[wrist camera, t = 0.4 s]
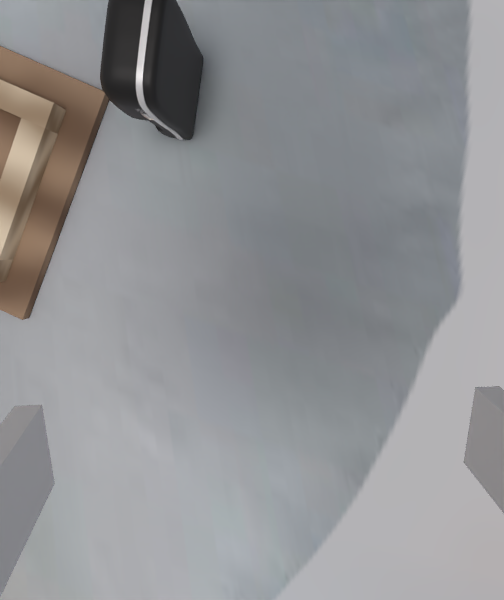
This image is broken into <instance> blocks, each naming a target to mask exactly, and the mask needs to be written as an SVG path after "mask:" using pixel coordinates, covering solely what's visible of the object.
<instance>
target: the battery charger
mask: <svg viewBox="0 0 504 600" xmlns="http://www.w3.org/2000/svg"><path fill="white" fill-rule="evenodd" d="M202 65H203V56H202V54H201V53H200V51H199V49H198V47H197V45H196V43H195V41H194V38H193V36H192V33H191V31H190V29H189V26H188V24H187V22H186V19H185V17H184V15H183V13H182V11H181V9H180V7H179V5H178V3H177V1H176V0H109V2H108V8H107V16H106V25H105V33H104V42H103V51H102V61H101V72H100V80H101V86H102V89H103V91H104V93H105V94H106V96H107V97H108V98H109V100H110V101H111V102H112V103H113V104H115V105H116V106H117V107H118V108H119V109H120V110H122V111H123V112H124V113H126V114H127V115H129V116H131V117H133V118H136V119H141V120H148V121H150V122H152V123H153V124H155V126H156V128H157V129H158V131H160V132H161V133H162V134H164V135H166V136H169V137H172V138H178V140H184V139H185V140H190V139H191V138H192V136H193V129H194V122H195V116H196V109H197V102H198V94H199V87H200V80H201V72H202Z"/></svg>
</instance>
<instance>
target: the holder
mask: <svg viewBox="0 0 504 600" xmlns="http://www.w3.org/2000/svg"><path fill="white" fill-rule="evenodd" d="M108 101H109V98H108V97H107V96H106V94H105V93H104V91H102V90H100V89H97V88H95V87H93V86H90V85H88V84H86V83H84V82H81V81H79V80H77V79H74V78H72V77H70V76H68V75H65V74H63V73H61V72H58V71H56V70H54V69H52V68H49V67H47V66H45V65H42V64H40V63H38V62H35V61H33V60H31V59H29V58H26V57H24V56H22V55H19V54H17V53H15V52H13V51H10V50H8V49H6V48H3V47H1V46H0V310H2V311H4V312H7V313H9V314H11V315H13V316H15V317H18V318H20V319H22V320H23V319H27V318H29V316H30V314H31V311H32V308H33V306H34V303H35V300H36V297H37V295H38V292H39V289H40V287H41V284H42V281H43V278H44V276H45V273H46V270H47V267H48V265H49V262H50V259H51V257H52V254H53V251H54V248H55V246H56V243H57V240H58V238H59V235H60V232H61V229H62V227H63V224H64V221H65V218H66V216H67V213H68V210H69V208H70V205H71V202H72V199H73V197H74V194H75V191H76V189H77V186H78V183H79V180H80V178H81V175H82V172H83V170H84V167H85V164H86V161H87V159H88V156H89V153H90V150H91V148H92V145H93V142H94V140H95V137H96V134H97V131H98V129H99V126H100V123H101V121H102V118H103V115H104V112H105V110H106V107H107V104H108Z"/></svg>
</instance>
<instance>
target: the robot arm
mask: <svg viewBox="0 0 504 600" xmlns="http://www.w3.org/2000/svg"><path fill="white" fill-rule="evenodd" d="M464 463H465V465H466V466H467V467H468V468H469V469H470V471H471V472H472V473H473V475H474V476H475V477H476V479H477V480H478V481H479V482H480V484H481V485H482V486H483V487H484V489H485V490H486V491H487V493H488V494H489V495H490V496H491V498H492V499H493V500H494V501H495V503H496V504H497V505H498V507H499V508H500V509H501V510H502V512H503V513H504V390H503V389H502V388H500V387H499V386H495V387H476V388H475V394H474V400H473V407H472V413H471V419H470V426H469V432H468V438H467V444H466V451H465V457H464ZM53 486H54V477H53V471H52V464H51V458H50V452H49V446H48V439H47V433H46V427H45V420H44V414H43V408H42V405H27V406H15V407H14V408H13V409H12V411H11V412H10V413H9V414H8V416H7V417H6V418H5V420H4V421H3V422H2V423H1V425H0V596H1V594H2V592H3V590H4V588H5V586H6V584H7V582H8V580H9V577H10V575H11V573H12V571H13V569H14V567H15V565H16V563H17V561H18V559H19V557H20V554H21V552H22V550H23V548H24V546H25V544H26V542H27V540H28V538H29V536H30V534H31V532H32V529H33V527H34V525H35V523H36V521H37V519H38V517H39V515H40V513H41V511H42V509H43V506H44V504H45V502H46V500H47V498H48V496H49V494H50V492H51V490H52V488H53Z"/></svg>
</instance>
